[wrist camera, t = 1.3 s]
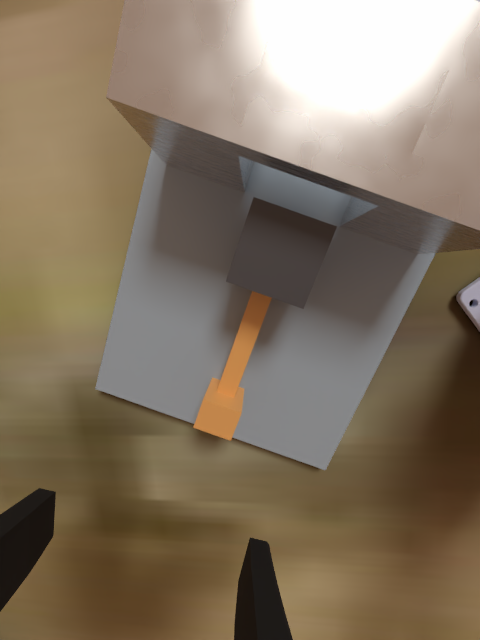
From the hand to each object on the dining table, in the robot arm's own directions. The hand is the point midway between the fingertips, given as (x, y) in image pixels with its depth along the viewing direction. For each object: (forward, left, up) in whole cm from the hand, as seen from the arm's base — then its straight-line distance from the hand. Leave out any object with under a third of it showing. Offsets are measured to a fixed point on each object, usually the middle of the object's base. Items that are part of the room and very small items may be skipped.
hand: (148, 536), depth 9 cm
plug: (+2, -6, -9) cm, 11 cm away
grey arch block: (+7, -15, -10) cm, 20 cm away
